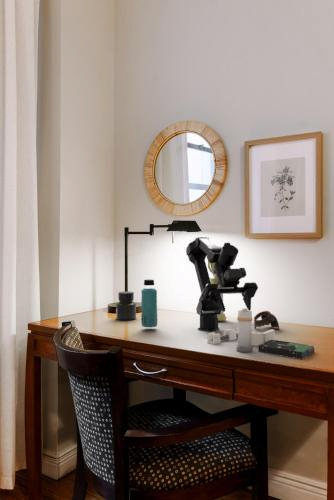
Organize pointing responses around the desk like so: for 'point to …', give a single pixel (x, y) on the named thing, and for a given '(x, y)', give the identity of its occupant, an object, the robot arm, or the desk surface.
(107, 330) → the desk surface
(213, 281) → the trophy
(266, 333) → the end holder
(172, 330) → the desk surface
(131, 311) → the ink bottle
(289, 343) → the disk drive
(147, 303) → the beverage bottle
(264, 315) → the dark brown curved piece
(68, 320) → the desk surface
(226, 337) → the cable
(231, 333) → the cable clips
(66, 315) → the desk surface
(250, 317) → the white squeeze bottle
